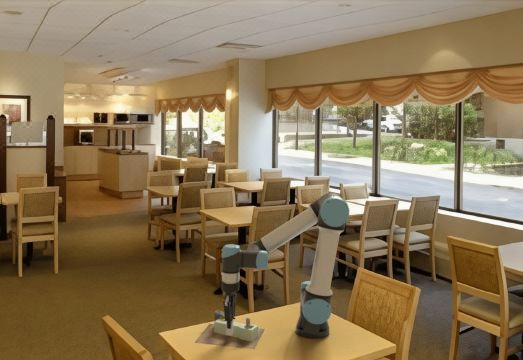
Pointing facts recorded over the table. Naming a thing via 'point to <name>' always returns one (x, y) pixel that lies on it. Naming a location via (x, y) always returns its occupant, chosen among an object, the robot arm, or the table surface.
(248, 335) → the link
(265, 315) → the table surface
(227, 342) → the pintle board
